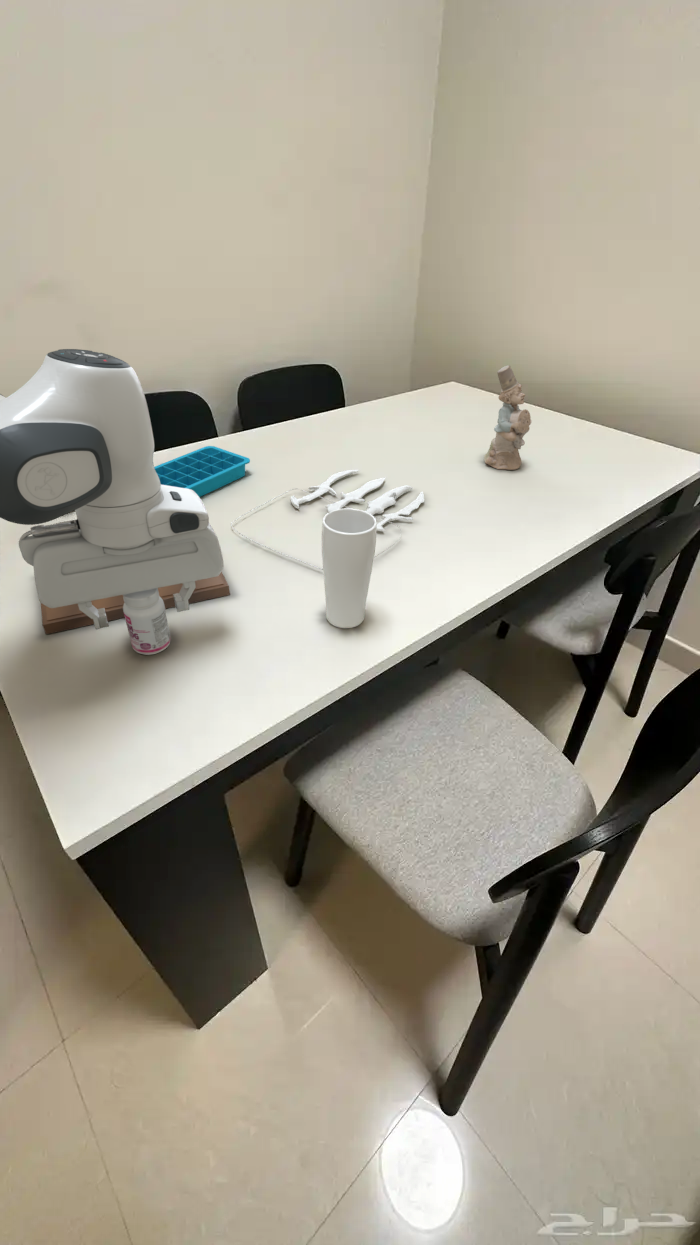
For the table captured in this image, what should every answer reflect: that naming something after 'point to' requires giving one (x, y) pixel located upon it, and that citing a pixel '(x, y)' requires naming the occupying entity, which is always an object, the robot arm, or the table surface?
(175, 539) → the robot arm
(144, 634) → the pill bottle
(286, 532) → the table surface
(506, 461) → the figurine
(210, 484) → the ice cube tray
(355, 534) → the drinking glass
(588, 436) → the table surface
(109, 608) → the cutting board
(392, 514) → the knife set
